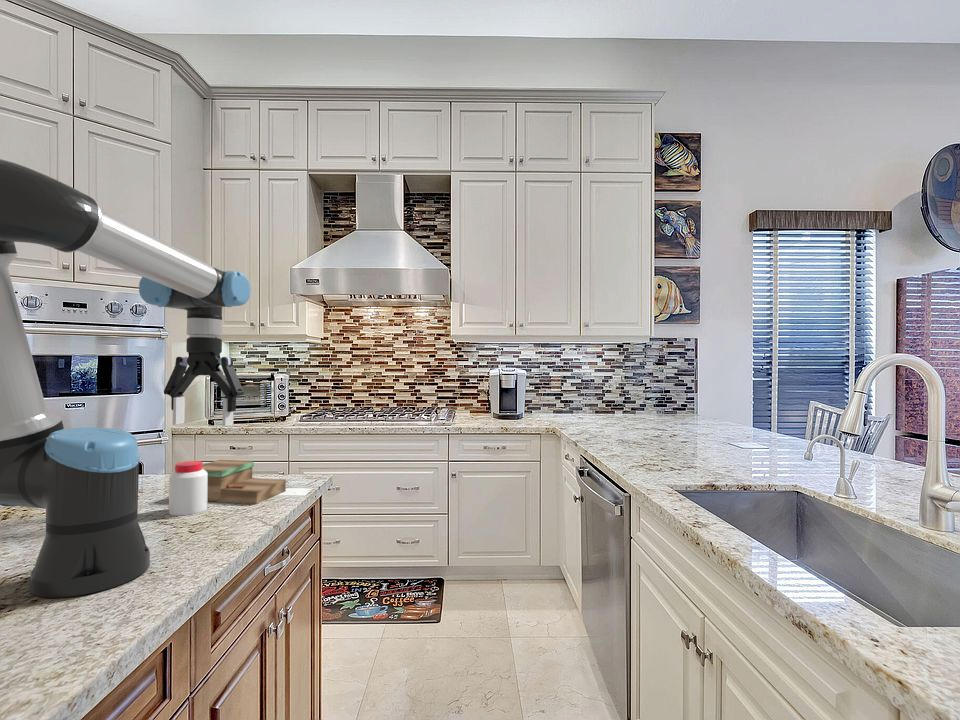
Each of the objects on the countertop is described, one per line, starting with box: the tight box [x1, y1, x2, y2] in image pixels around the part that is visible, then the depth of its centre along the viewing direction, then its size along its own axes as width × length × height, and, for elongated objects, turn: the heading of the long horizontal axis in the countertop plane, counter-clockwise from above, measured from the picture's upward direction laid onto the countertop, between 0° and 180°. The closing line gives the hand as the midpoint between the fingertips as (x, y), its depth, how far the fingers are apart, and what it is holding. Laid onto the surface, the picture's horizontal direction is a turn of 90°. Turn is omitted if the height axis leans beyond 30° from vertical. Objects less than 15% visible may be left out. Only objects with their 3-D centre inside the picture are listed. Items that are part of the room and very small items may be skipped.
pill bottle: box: [168, 460, 209, 517], centre depth 114 cm, size 8×8×11 cm
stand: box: [202, 459, 287, 505], centre depth 127 cm, size 12×20×8 cm, turn 79°
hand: (203, 424), depth 119 cm, fingers open, 13 cm apart
